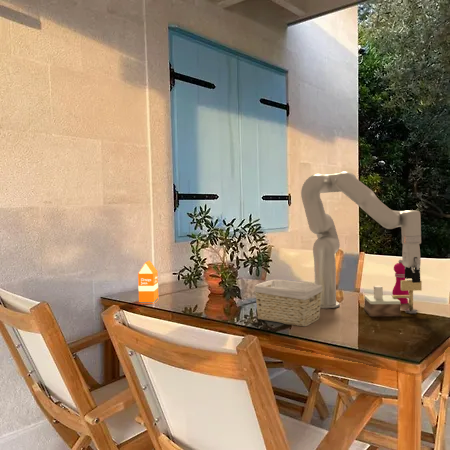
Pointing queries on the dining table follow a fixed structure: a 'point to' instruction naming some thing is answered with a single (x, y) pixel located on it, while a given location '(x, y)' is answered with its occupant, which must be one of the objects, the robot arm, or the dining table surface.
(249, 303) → the dining table surface
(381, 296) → the cover
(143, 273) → the orange juice
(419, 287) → the key
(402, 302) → the pepper mill
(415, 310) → the silver metal disc
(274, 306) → the storage basket
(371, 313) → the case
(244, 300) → the dining table surface
